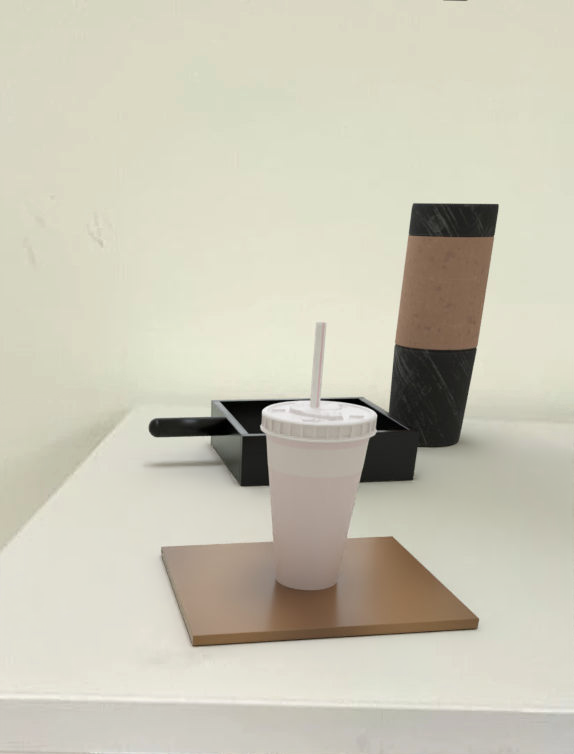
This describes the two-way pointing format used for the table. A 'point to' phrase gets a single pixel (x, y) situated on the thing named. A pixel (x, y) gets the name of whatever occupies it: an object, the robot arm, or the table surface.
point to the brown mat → (308, 594)
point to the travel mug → (440, 316)
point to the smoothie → (314, 479)
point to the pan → (249, 444)
